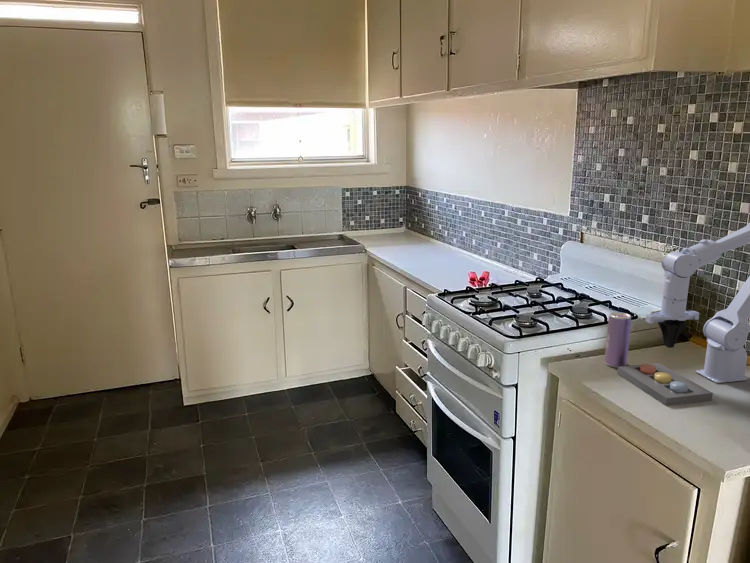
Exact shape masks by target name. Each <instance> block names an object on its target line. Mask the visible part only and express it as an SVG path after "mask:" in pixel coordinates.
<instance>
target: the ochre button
mask: <svg viewBox="0 0 750 563" xmlns="http://www.w3.org/2000/svg"><path fill="white" fill-rule="evenodd" d="M671 378H672V376H671V375H670V374H668V373H664V372H656V373H655V376H654V380H655V381H656V382H658V383H660V384H666V383H671Z"/></svg>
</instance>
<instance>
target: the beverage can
mask: <svg viewBox="0 0 750 563" xmlns="http://www.w3.org/2000/svg"><path fill="white" fill-rule="evenodd" d="M607 320H608V321H607V330H606V331H607V333H606V341H605V351H604V362H605V364H606V366H608V367H611V368H616V369H618V367H622V366H627V364H628V355H629V349H630V346H629V345H630V338H631V336H630V335H631V329H632V328H631V327H632V315H631V314H628V313H625V312H622V311H621V312H620V311H619V312H618V311H615V312H610V313H609V316H608V319H607Z"/></svg>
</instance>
